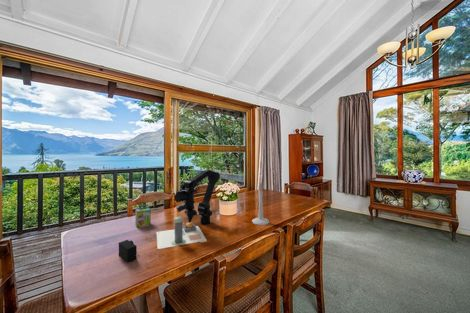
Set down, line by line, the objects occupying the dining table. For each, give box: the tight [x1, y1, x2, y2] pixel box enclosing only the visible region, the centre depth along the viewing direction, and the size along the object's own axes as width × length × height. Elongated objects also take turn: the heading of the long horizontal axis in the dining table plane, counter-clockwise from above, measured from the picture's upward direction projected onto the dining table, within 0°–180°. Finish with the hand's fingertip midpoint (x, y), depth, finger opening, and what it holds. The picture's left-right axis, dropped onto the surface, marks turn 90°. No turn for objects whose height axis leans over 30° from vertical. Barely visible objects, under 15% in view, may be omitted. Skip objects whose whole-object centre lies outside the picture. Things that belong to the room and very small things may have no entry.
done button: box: [185, 221, 194, 228], centre depth 131 cm, size 4×4×2 cm
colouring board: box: [156, 225, 207, 250], centre depth 121 cm, size 27×24×1 cm
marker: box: [173, 216, 184, 244], centre depth 113 cm, size 5×5×14 cm
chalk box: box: [134, 203, 152, 229], centre depth 140 cm, size 9×9×15 cm
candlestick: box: [251, 182, 270, 226], centre depth 147 cm, size 13×13×30 cm
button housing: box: [183, 223, 196, 232], centre depth 131 cm, size 7×7×2 cm
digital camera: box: [118, 239, 138, 264], centre depth 98 cm, size 10×5×7 cm, turn 51°
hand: (189, 222), depth 131 cm, fingers closed
